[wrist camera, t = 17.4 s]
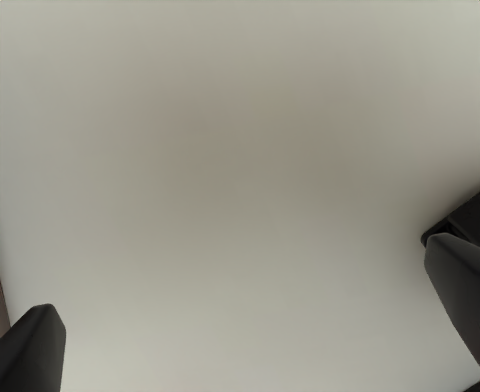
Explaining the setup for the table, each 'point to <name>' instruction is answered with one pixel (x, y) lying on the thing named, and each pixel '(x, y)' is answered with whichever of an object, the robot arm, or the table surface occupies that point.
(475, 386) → the portable cd player
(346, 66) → the table surface
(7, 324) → the hole block
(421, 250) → the table surface
